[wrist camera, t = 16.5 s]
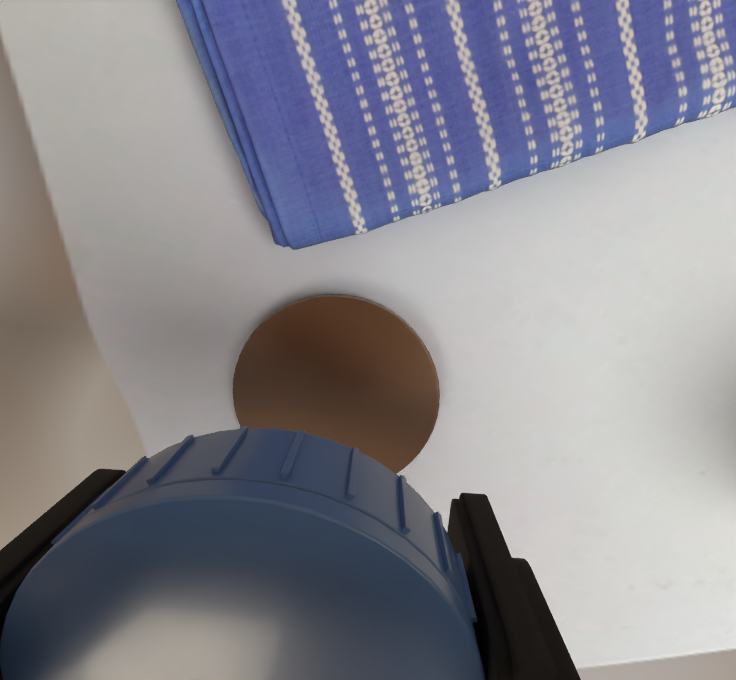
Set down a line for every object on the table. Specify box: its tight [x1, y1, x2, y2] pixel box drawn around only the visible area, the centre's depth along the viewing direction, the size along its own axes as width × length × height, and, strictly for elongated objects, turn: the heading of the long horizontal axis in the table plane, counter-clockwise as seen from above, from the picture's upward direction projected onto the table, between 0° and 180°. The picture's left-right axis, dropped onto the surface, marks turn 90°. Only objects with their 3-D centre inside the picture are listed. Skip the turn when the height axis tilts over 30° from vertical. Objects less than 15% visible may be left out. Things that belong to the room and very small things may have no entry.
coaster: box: [233, 295, 440, 474], centre depth 18 cm, size 9×9×1 cm
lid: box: [0, 426, 486, 680], centre depth 7 cm, size 7×7×2 cm
